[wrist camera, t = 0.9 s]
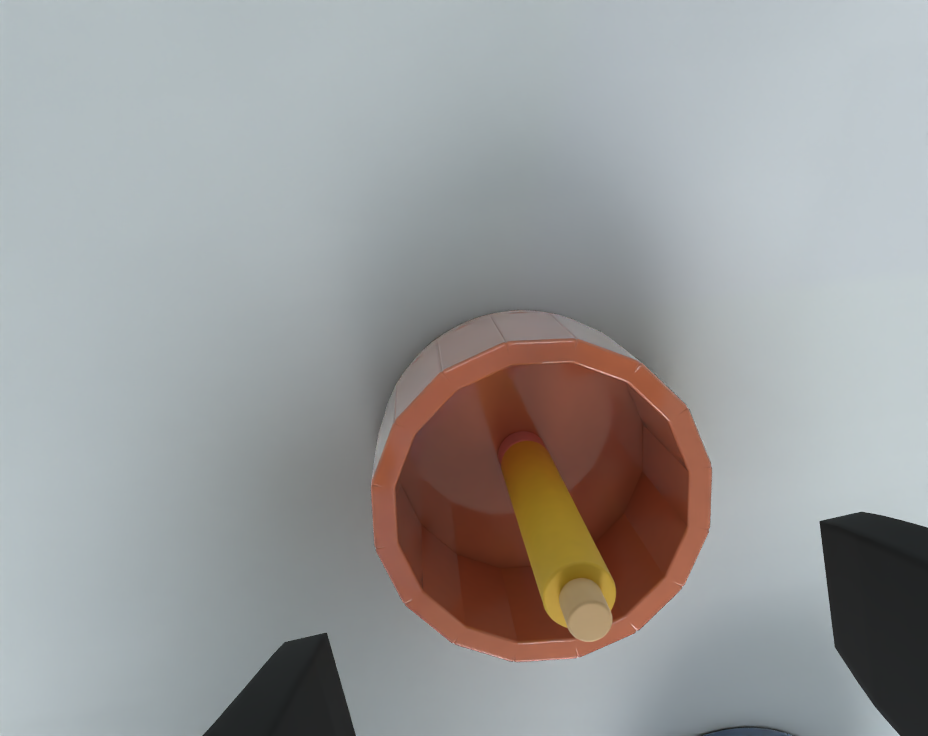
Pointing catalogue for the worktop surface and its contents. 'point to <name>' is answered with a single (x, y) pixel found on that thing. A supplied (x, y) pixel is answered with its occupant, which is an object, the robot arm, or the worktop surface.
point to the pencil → (557, 540)
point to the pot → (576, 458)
